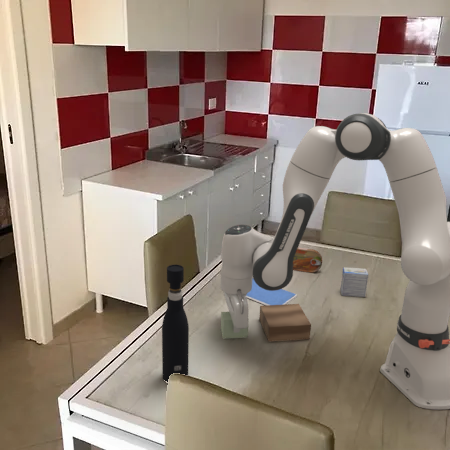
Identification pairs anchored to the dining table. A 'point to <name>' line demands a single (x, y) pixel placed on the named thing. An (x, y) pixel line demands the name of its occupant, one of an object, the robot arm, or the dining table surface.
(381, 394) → the dining table surface
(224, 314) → the sage brick
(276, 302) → the blue rectangular panel
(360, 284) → the medicine box
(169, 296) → the black bottle
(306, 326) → the walnut brick
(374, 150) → the robot arm
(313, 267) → the tin
